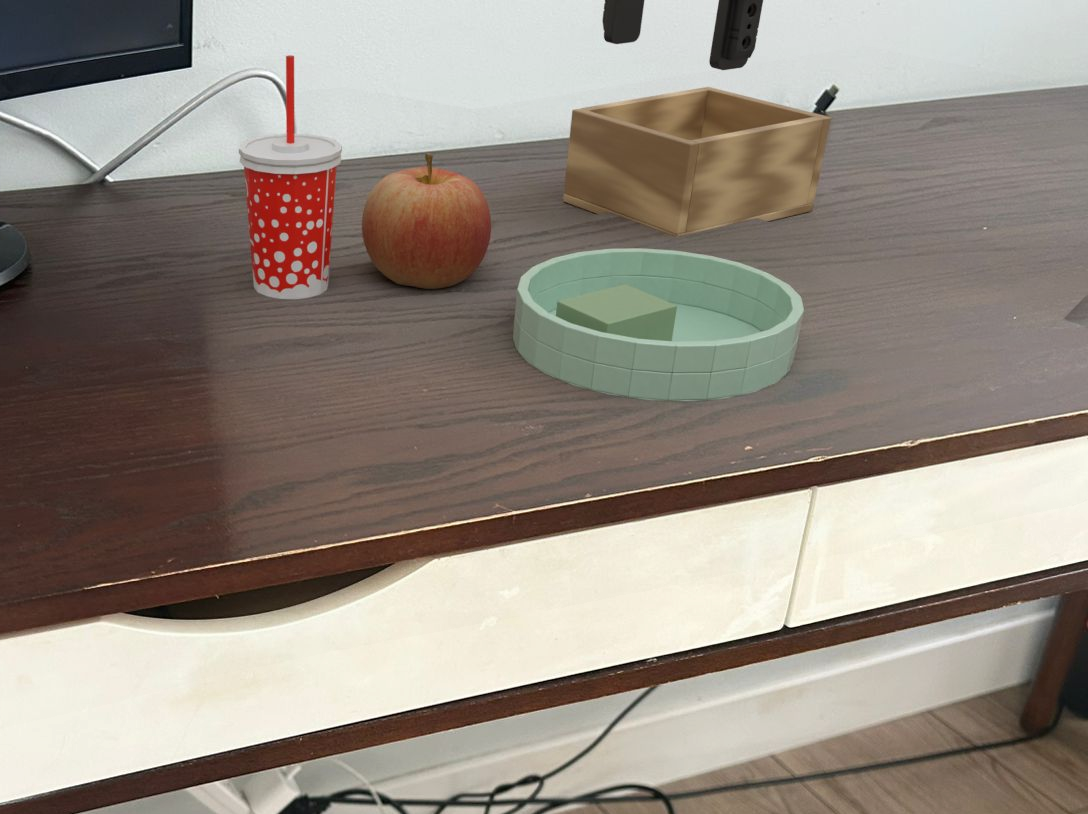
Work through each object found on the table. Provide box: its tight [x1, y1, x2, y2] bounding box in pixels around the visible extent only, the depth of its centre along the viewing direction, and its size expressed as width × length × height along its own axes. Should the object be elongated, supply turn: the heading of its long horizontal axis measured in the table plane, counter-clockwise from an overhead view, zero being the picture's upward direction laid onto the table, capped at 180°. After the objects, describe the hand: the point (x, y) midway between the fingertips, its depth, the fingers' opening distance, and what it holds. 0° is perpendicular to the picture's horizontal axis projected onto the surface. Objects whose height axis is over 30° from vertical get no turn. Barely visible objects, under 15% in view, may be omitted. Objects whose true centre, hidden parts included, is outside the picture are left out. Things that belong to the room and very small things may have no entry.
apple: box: [361, 152, 492, 290], centre depth 84 cm, size 8×8×8 cm
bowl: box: [512, 247, 805, 402], centre depth 76 cm, size 15×15×4 cm
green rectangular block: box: [556, 284, 677, 341], centre depth 74 cm, size 5×4×3 cm
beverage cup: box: [238, 54, 343, 300], centre depth 82 cm, size 6×6×14 cm
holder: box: [562, 86, 832, 238], centre depth 98 cm, size 14×12×7 cm
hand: (671, 54), depth 77 cm, fingers open, 8 cm apart
